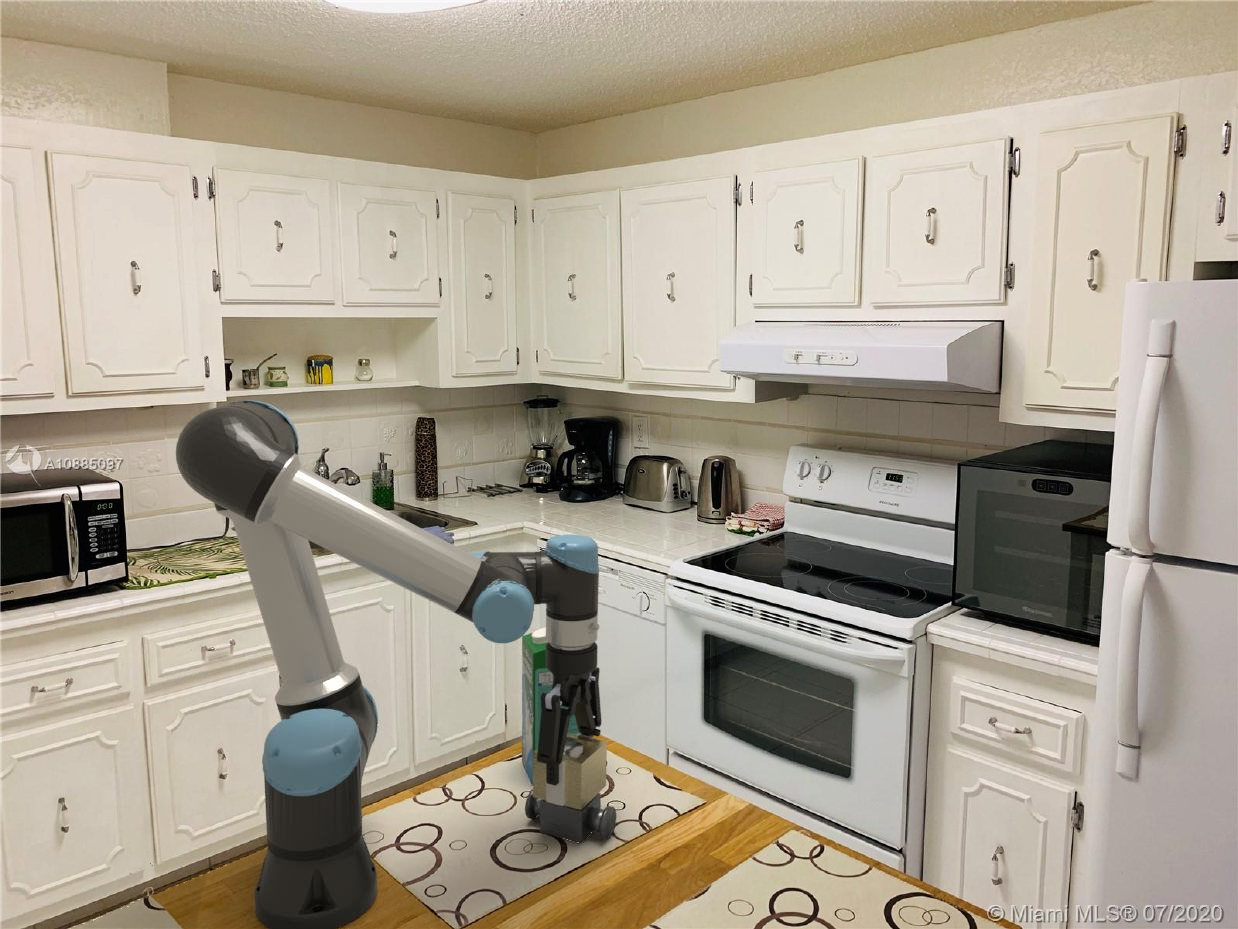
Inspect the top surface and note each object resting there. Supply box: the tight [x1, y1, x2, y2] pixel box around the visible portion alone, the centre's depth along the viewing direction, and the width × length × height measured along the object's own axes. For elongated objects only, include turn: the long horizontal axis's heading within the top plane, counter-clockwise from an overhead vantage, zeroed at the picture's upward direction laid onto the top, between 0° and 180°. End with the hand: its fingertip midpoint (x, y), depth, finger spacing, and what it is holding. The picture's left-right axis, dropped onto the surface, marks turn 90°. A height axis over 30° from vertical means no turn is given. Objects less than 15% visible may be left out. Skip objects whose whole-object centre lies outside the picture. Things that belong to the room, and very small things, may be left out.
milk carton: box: [521, 627, 581, 786], centre depth 153 cm, size 9×9×25 cm
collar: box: [532, 733, 608, 810], centre depth 136 cm, size 8×8×7 cm
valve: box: [524, 741, 617, 844], centre depth 136 cm, size 13×6×13 cm, turn 64°
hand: (570, 789), depth 136 cm, fingers open, 8 cm apart
